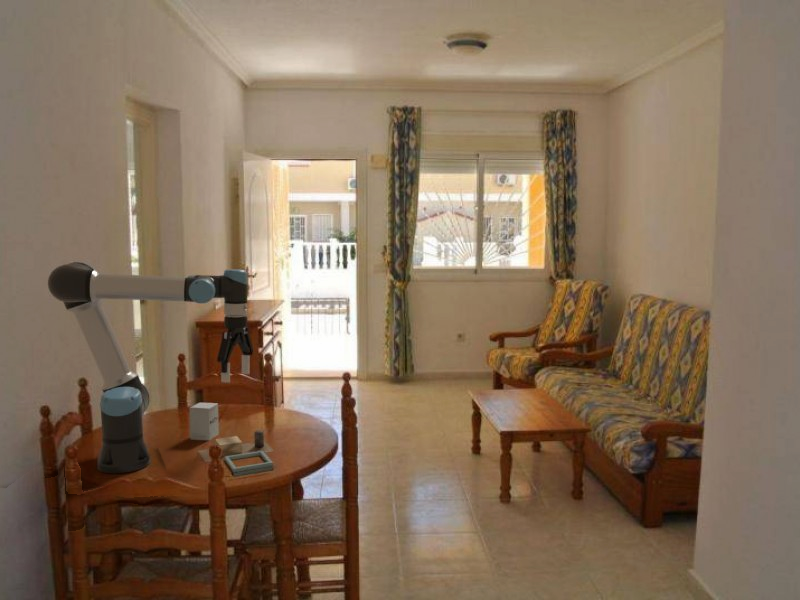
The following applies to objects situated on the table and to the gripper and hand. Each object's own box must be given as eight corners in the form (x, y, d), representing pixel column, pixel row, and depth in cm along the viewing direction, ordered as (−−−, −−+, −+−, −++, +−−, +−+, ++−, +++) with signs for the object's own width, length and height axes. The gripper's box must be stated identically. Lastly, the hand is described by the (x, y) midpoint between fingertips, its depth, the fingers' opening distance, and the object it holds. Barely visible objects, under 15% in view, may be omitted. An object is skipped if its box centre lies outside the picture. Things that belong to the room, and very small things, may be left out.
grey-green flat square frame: (233, 477, 197) (233, 468, 197) (224, 464, 208) (224, 456, 208) (273, 470, 203) (273, 462, 202) (262, 458, 213) (262, 450, 213)
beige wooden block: (220, 455, 211) (219, 445, 211) (215, 449, 217) (215, 439, 217) (242, 452, 214) (242, 442, 214) (237, 446, 220) (236, 435, 220)
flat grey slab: (204, 466, 206) (204, 446, 205) (197, 455, 216) (196, 435, 216) (274, 455, 216) (273, 436, 215) (264, 445, 226) (263, 426, 226)
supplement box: (209, 444, 227) (208, 408, 225) (189, 443, 228) (188, 407, 227) (219, 438, 234) (218, 402, 232) (200, 436, 235) (199, 401, 234)
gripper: (226, 320, 210) (227, 386, 213) (263, 312, 234) (262, 371, 237) (205, 319, 212) (206, 384, 215) (243, 310, 236) (243, 369, 239)
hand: (235, 377), depth 226 cm, fingers open, 13 cm apart
